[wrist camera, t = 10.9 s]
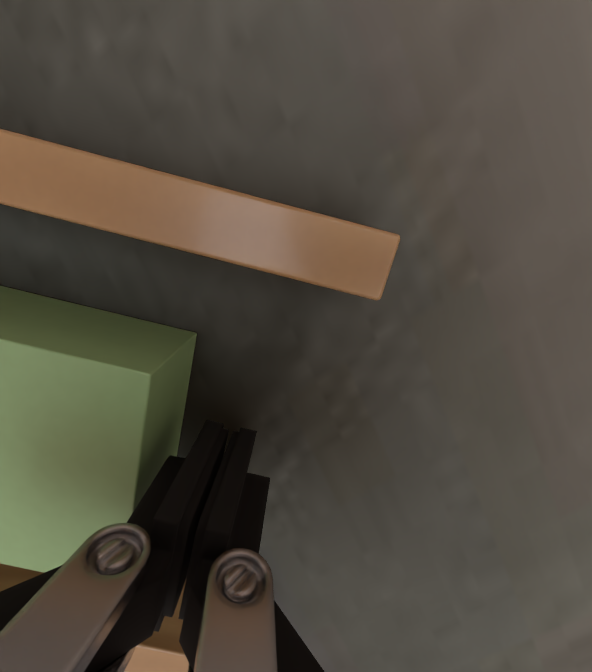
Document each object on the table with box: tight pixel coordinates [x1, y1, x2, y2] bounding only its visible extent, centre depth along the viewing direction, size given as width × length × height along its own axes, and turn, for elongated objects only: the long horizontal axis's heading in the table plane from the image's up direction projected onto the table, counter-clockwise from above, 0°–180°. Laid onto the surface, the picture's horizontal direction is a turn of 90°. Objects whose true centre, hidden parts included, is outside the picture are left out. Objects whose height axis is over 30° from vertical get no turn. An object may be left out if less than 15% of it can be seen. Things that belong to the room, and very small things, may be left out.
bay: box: [0, 129, 400, 672], centre depth 11 cm, size 16×14×3 cm
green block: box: [0, 286, 197, 573], centre depth 10 cm, size 7×7×4 cm
